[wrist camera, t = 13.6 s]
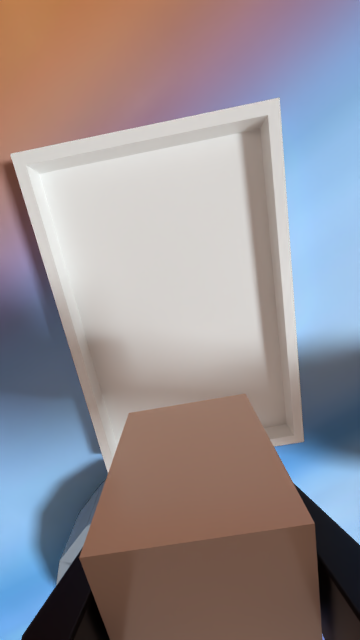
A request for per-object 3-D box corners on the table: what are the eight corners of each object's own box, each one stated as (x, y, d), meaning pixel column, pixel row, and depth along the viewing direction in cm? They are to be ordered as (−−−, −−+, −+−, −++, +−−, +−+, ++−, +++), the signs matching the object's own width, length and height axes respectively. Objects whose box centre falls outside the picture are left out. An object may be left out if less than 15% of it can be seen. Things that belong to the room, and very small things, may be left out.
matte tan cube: (245, 393, 9) (315, 523, 4) (257, 488, 10) (324, 673, 5) (128, 412, 9) (79, 558, 4) (152, 504, 10) (131, 698, 5)
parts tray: (267, 118, 12) (279, 97, 11) (292, 426, 16) (304, 441, 15) (29, 167, 13) (10, 153, 11) (113, 455, 17) (107, 472, 15)
